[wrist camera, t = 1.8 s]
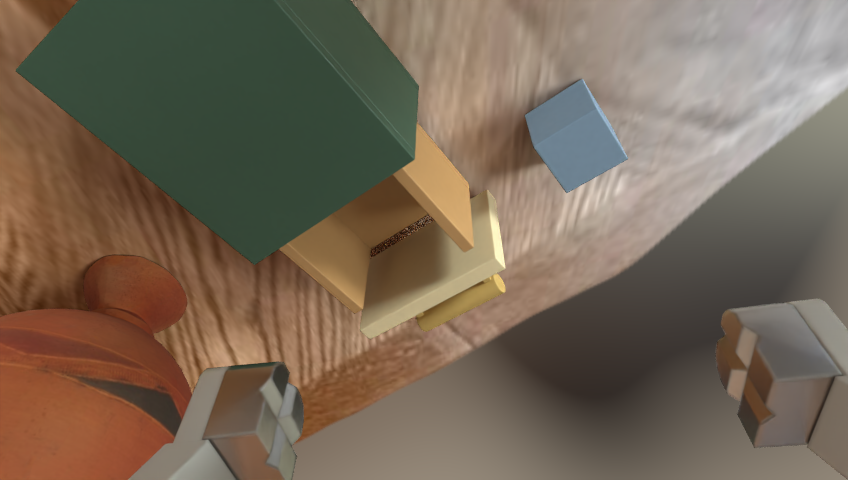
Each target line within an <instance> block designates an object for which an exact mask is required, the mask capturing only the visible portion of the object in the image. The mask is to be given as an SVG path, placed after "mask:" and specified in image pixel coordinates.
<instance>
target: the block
mask: <svg viewBox="0 0 848 480" xmlns="http://www.w3.org/2000/svg"><path fill="white" fill-rule="evenodd" d="M525 118H526V122H527V126H528V129H529V133H530V137H531V140H532V144H533V147H534V149H535V150H536V151H537V153H538V154H539V156H540V157H541V158H542V160H543V161H544V163H545V164H546V165H547V167H548V168H549V170H550V171H551V172H552V174H553V175H554V176H555V178H556V179H557V181H558V182H559V183H560V185H561V186H562V188H563V189H564V190H565V192H566V193H568V192H570V191H571V190H573V189H575V188H577V187H579V186H580V185H582V184H584V183H586V182H588V181H589V180H591V179H593V178H595V177H597V176H598V175H600V174H602V173H604V172H606V171H607V170H609V169H611V168H613V167H615V166H616V165H618V164H620V163H622V162H624V161H625V160H627V159H628V157H627V155H626V154H625V152H624V150H623V148H622V146H621V144H620V142H619V140H618V138H617V136H616V134H615V132H614V130H613V128H612V126H611V125H610V123H609V121H608V120H607V118H606V117H605V115H604V113H603V112H602V110H601V108H600V107H599V105H598V103H597V102H596V100H595V99H594V97H593V95H592V94H591V92H590V90H589V89H588V87H587V85H586V84H585V82H584V81H583V79H581V80H579V81H578V82H576V83H575V84H573V85H571V86H570V87H568V88H567V89H565V90H564V91H562V92H560V93H559V94H557V95H556V96H554V97H553V98H551V99H549V100H548V101H546V102H545V103H543V104H542V105H540V106H538V107H537V108H535V109H534V110H532V111H531V112H529V113H527V114H526V115H525Z"/></svg>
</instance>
